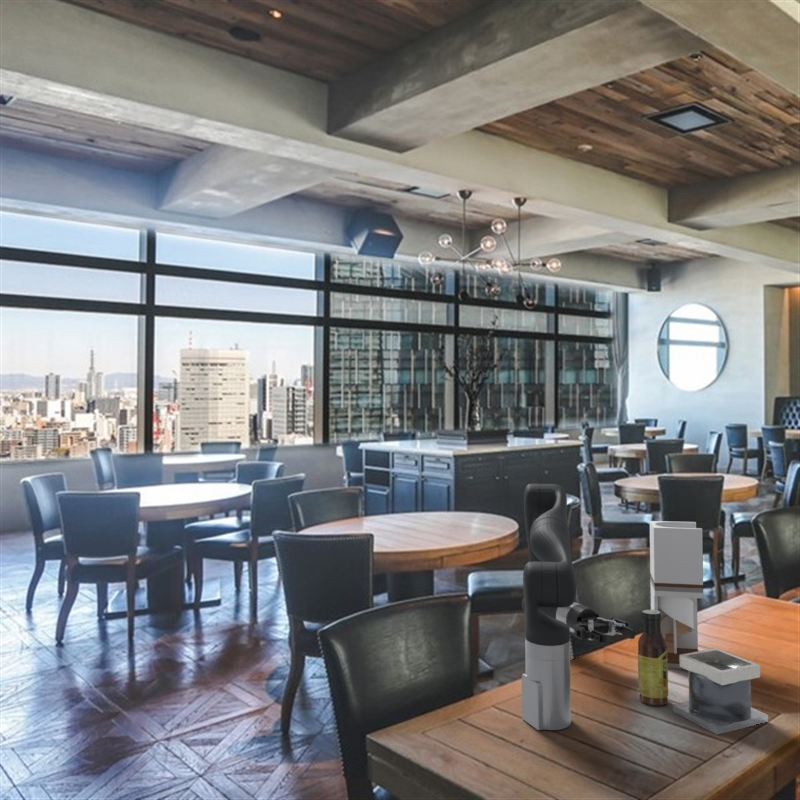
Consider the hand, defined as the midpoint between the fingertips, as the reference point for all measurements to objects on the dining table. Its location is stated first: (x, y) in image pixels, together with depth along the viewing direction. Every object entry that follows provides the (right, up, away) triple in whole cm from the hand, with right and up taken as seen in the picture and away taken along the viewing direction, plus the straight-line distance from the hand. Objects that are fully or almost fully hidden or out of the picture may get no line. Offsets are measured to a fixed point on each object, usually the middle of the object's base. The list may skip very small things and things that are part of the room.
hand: (619, 637), depth 172 cm
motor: (+16, -11, -19) cm, 27 cm away
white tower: (+19, -11, +14) cm, 26 cm away
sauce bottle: (+4, -11, -10) cm, 16 cm away
